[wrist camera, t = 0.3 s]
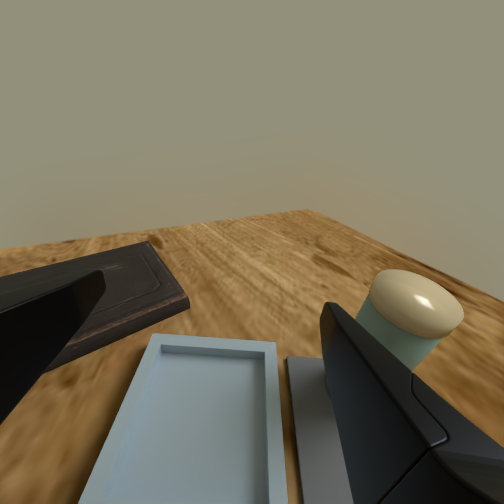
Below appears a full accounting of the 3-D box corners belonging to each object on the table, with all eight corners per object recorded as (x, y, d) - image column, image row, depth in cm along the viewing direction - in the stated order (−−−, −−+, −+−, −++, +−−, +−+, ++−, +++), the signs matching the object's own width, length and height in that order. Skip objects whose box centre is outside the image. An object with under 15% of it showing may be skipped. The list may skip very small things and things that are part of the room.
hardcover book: (-48, 305, 27) (-61, 291, 26) (150, 251, 40) (148, 240, 39) (-91, 439, 17) (-116, 427, 16) (190, 310, 30) (189, 298, 29)
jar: (387, 421, 21) (485, 329, 13) (331, 417, 20) (399, 322, 13) (365, 365, 25) (429, 272, 17) (318, 361, 25) (363, 266, 17)
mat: (449, 534, 16) (452, 533, 15) (306, 528, 15) (307, 527, 15) (374, 364, 25) (375, 362, 25) (286, 358, 25) (287, 356, 25)
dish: (284, 539, 15) (290, 535, 14) (79, 531, 14) (67, 526, 13) (272, 353, 25) (275, 342, 24) (155, 344, 25) (153, 333, 24)
